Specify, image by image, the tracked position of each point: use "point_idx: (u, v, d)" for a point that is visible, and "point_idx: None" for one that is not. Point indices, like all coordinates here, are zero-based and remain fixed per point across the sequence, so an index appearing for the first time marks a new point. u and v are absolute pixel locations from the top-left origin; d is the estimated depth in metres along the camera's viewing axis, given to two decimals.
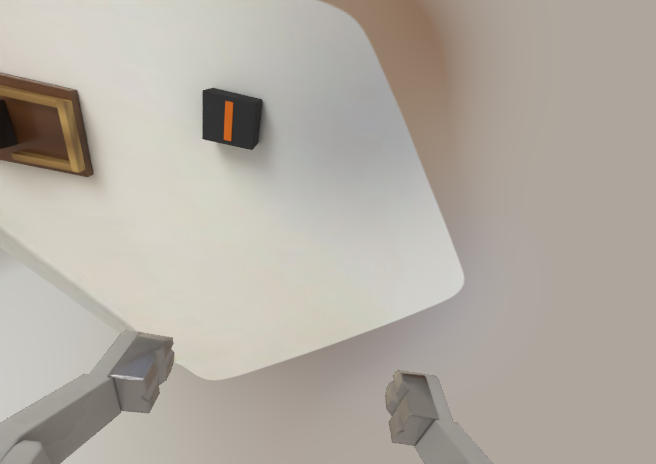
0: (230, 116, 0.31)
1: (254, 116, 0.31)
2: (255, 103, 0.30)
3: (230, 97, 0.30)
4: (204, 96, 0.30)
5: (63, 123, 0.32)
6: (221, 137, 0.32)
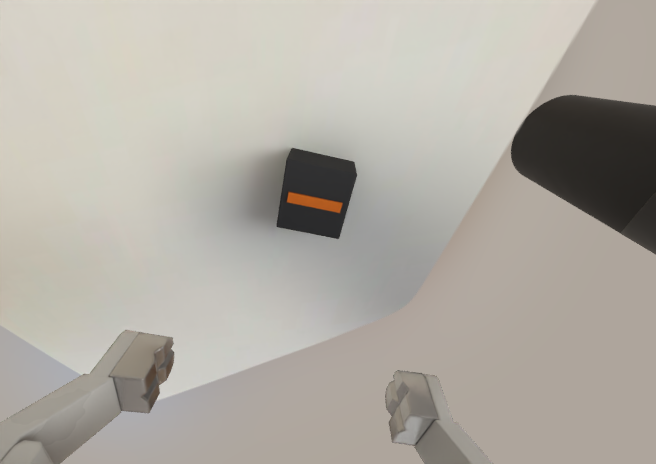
0: (321, 205, 0.22)
1: (322, 234, 0.23)
2: (338, 237, 0.23)
3: (346, 209, 0.22)
4: (348, 175, 0.20)
5: None
6: (291, 188, 0.21)
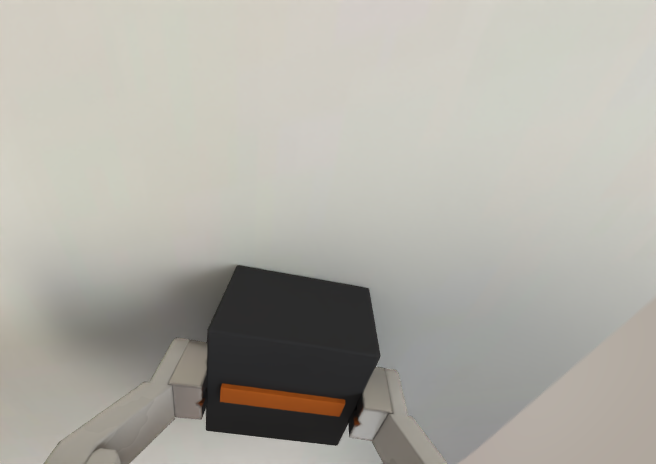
0: (298, 404, 0.10)
1: (302, 440, 0.11)
2: (335, 443, 0.11)
3: (353, 408, 0.10)
4: (360, 358, 0.08)
5: None
6: (227, 380, 0.09)
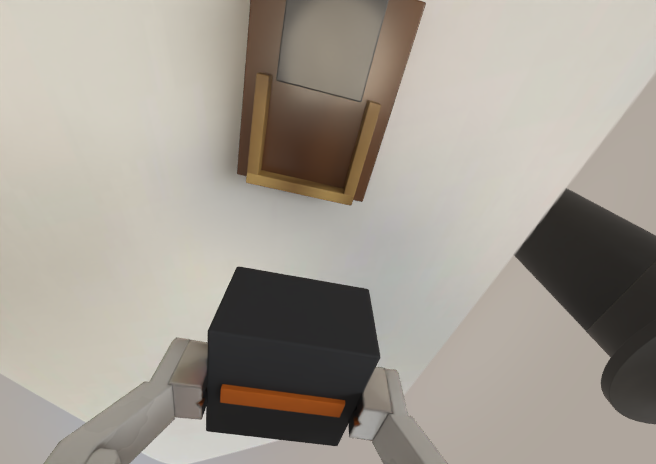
0: (298, 404, 0.10)
1: (302, 440, 0.11)
2: (335, 443, 0.11)
3: (353, 409, 0.10)
4: (360, 359, 0.09)
5: (322, 193, 0.22)
6: (227, 381, 0.09)
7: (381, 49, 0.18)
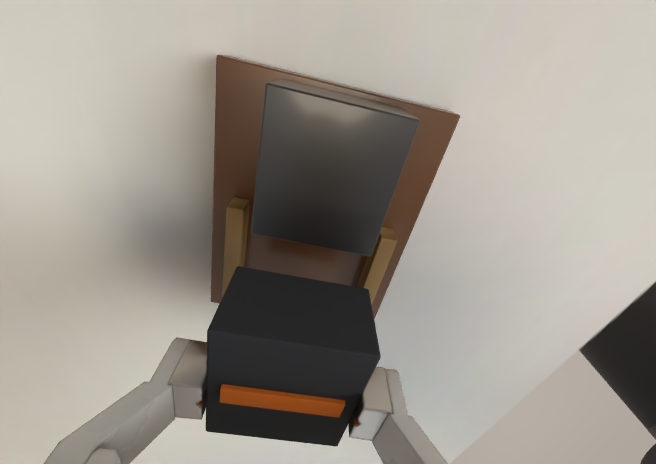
0: (298, 404, 0.10)
1: (302, 441, 0.11)
2: (335, 444, 0.11)
3: (353, 409, 0.10)
4: (361, 359, 0.08)
5: None
6: (227, 380, 0.09)
7: None
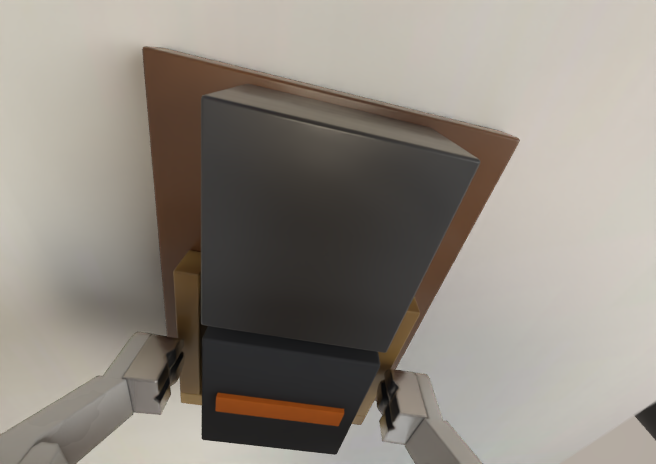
0: (296, 413, 0.09)
1: (300, 449, 0.11)
2: (334, 452, 0.11)
3: (353, 417, 0.10)
4: (360, 368, 0.08)
5: None
6: (222, 389, 0.09)
7: None
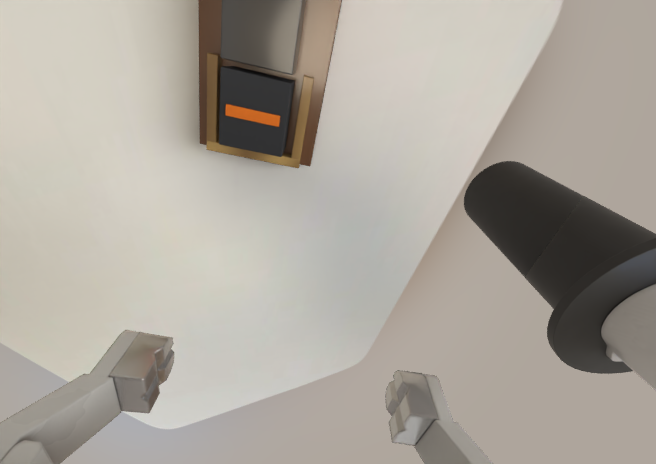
0: (260, 119, 0.22)
1: (264, 152, 0.23)
2: (280, 155, 0.24)
3: (284, 123, 0.22)
4: (283, 84, 0.21)
5: (272, 157, 0.25)
6: (228, 100, 0.21)
7: (310, 31, 0.22)
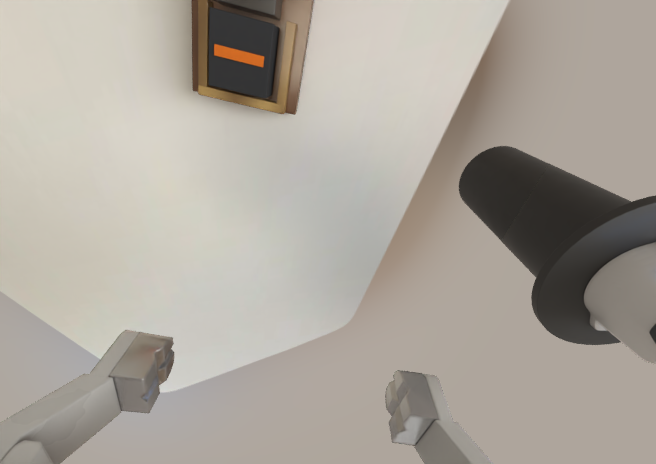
0: (245, 60, 0.24)
1: (250, 93, 0.25)
2: (265, 97, 0.25)
3: (268, 64, 0.24)
4: (266, 25, 0.23)
5: (259, 103, 0.27)
6: (216, 40, 0.23)
7: None
